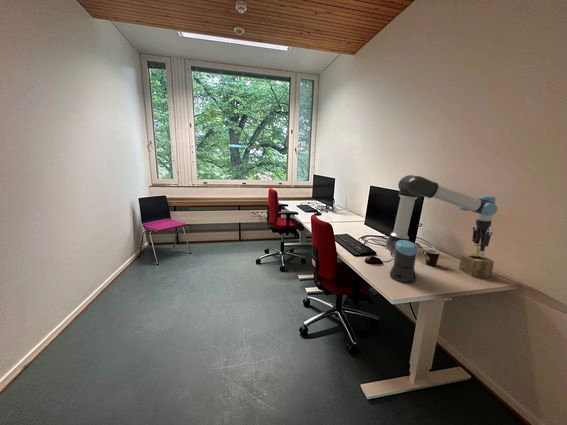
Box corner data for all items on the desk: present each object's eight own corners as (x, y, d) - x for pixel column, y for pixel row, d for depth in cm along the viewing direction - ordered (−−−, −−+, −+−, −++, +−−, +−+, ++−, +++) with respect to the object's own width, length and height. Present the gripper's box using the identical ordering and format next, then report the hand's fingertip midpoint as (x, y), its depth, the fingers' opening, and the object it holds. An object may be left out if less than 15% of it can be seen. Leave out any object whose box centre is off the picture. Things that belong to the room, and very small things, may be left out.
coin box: (471, 276, 152) (474, 260, 150) (459, 268, 163) (461, 253, 161) (490, 277, 151) (493, 261, 149) (476, 269, 163) (479, 254, 161)
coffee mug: (440, 267, 165) (442, 254, 163) (426, 266, 166) (428, 253, 164) (433, 261, 176) (434, 248, 174) (420, 260, 178) (422, 247, 176)
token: (476, 255, 153) (477, 246, 152) (472, 253, 156) (474, 245, 155) (484, 255, 153) (485, 247, 152) (480, 253, 156) (482, 245, 155)
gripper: (500, 222, 142) (493, 259, 146) (480, 217, 158) (474, 250, 162) (487, 222, 142) (481, 258, 147) (469, 217, 158) (463, 249, 163)
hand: (477, 254), depth 155 cm, fingers closed on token, 3 cm apart
